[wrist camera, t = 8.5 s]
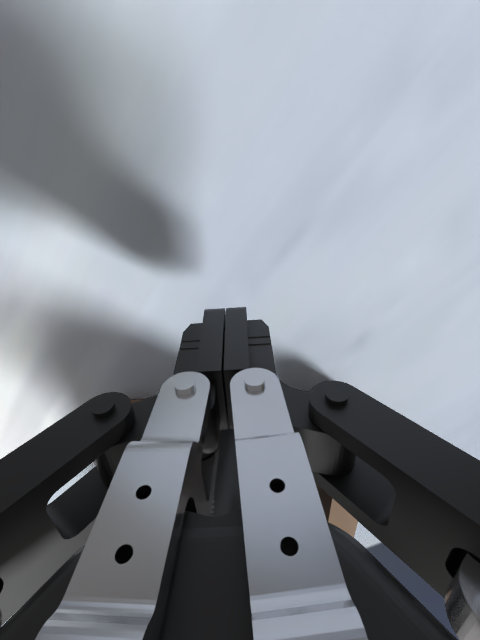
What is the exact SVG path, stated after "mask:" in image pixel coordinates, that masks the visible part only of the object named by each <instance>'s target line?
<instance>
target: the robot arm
mask: <svg viewBox="0 0 480 640" xmlns="http://www.w3.org/2000/svg"><path fill="white" fill-rule="evenodd" d="M179 349H180V351H179V353H178V357H177V361H176V365H175V370H174V374H173V376H171V377H170V378H168V379H167V380H166V381H165V382H164V383H163V385H162V386H161V389H160V391H159V394H158V395H156V396H153V397H151V398H148V399H145V400H141V401H138V402H134V403H131V401H130V399H129V397H128V396H126V395H125V394H122V393H118V392H110V393H105V394H101V395H98V396H96V397H94V398H92V399H91V400H89V401H87V402H86V403H84V404H83V405H81V406H80V407H78V408H77V409H75V410H74V411H72V412H71V413H69V414H68V415H66V416H65V417H63V418H62V419H60V420H59V421H57V422H56V423H54V424H53V425H51V426H50V427H48V428H47V429H45V430H44V431H42V432H41V433H39V434H38V435H36V436H35V437H33V438H32V439H30V440H29V441H27V442H26V443H24V444H23V445H21V446H20V447H18V448H17V449H15V450H14V451H12V452H11V453H9V454H8V455H6V456H5V457H3V458H2V459H0V640H457V639H456V638H455V637H454V636H453V635H452V634H451V633H450V632H449V631H448V630H447V629H446V628H445V627H444V626H443V625H442V624H441V623H440V622H439V621H438V620H437V619H436V618H435V617H434V616H433V615H432V614H431V613H430V612H429V611H428V610H427V609H426V608H425V607H424V606H423V605H422V604H421V603H420V602H419V601H418V600H417V599H416V598H415V597H414V596H413V595H412V594H411V593H410V592H409V591H408V590H407V589H406V588H405V587H404V586H403V585H402V584H401V583H400V582H399V581H398V580H397V579H396V578H395V577H394V576H393V575H392V574H391V573H390V572H389V571H388V570H387V569H386V568H385V567H384V566H383V565H382V564H381V563H380V562H379V561H378V560H377V559H376V558H375V557H374V556H373V555H372V554H371V553H370V552H369V551H368V550H367V549H366V548H365V547H364V546H363V545H362V544H360V543H359V542H358V541H357V540H356V539H355V538H353V537H352V536H351V535H349V534H348V533H347V532H345V531H344V530H342V529H340V528H339V527H337V526H335V525H333V524H331V523H329V522H327V520H326V517H325V514H324V510H323V507H322V504H321V500H320V497H319V494H318V491H317V487H316V484H317V485H318V486H319V487H320V488H321V489H323V490H324V491H325V492H326V493H327V494H328V495H329V496H330V497H332V498H333V499H334V500H335V501H336V502H337V503H338V504H339V505H341V506H342V507H343V508H344V509H345V510H346V511H347V512H348V513H350V514H351V515H352V516H353V517H354V518H355V519H356V520H357V521H358V522H360V523H361V524H362V525H363V526H364V527H365V528H366V529H367V530H369V531H370V532H371V533H372V534H373V535H374V536H375V537H376V538H378V539H379V540H380V541H381V542H382V543H383V544H384V545H386V546H387V547H388V548H389V549H390V550H391V551H392V552H393V553H394V554H396V555H397V556H398V557H399V558H400V559H401V560H402V561H403V562H404V563H406V564H407V565H408V566H409V567H410V568H411V569H412V570H413V571H415V572H416V573H417V574H418V575H419V576H420V577H421V578H423V579H424V580H425V581H426V582H427V583H428V584H429V585H430V586H431V587H432V588H434V589H435V590H436V591H437V592H438V593H439V594H440V595H442V596H443V597H444V598H445V607H446V613H447V616H448V619H449V622H450V624H451V626H452V628H453V630H454V632H455V633H456V635H457V636H458V638H459V639H460V640H480V461H479V460H478V459H476V458H474V457H473V456H471V455H469V454H467V453H466V452H464V451H462V450H461V449H459V448H457V447H455V446H454V445H452V444H450V443H449V442H447V441H445V440H444V439H442V438H440V437H438V436H437V435H435V434H433V433H432V432H430V431H428V430H426V429H425V428H423V427H421V426H420V425H418V424H416V423H415V422H413V421H411V420H409V419H408V418H406V417H404V416H403V415H401V414H399V413H397V412H396V411H394V410H392V409H391V408H389V407H387V406H386V405H384V404H382V403H380V402H379V401H377V400H375V399H374V398H372V397H370V396H369V395H367V394H365V393H363V392H362V391H360V390H358V389H357V388H355V387H353V386H351V385H349V384H347V383H344V382H340V381H325V382H321V383H319V384H317V385H315V386H314V387H313V388H312V389H311V391H310V392H307V391H302V390H297V389H294V388H291V387H289V386H287V385H285V384H284V383H282V382H281V381H280V380H279V378H278V377H277V375H276V371H275V364H274V358H273V352H272V346H271V339H270V333H269V327H268V326H267V325H266V324H265V323H264V322H263V321H262V320H247V314H246V307H238V308H226V312H225V308H223V309H206V310H205V311H204V317H203V323H197V324H190V325H189V327H188V328H187V329H186V330H185V331H184V332H183V336H182V340H181V344H180V348H179ZM228 415H229V424H230V429H234V434H235V446H236V456H237V467H238V478H239V488H240V499H241V509H240V510H236V511H233V512H230V513H227V514H224V515H221V516H217V517H211V510H212V502H213V494H214V487H215V479H216V472H217V464H218V457H219V446H218V445H219V440H220V430H222V429H228ZM93 461H94V462H95V465H96V467H94V468H93V469H92V470H91V471H89V472H88V473H87V474H86V475H85V476H83V477H82V478H81V479H80V480H78V481H77V482H76V483H75V484H74V485H72V486H71V487H70V488H69V489H67V490H66V491H65V492H64V493H63V494H61V495H60V496H59V497H58V498H56V499H55V500H54V501H53V502H51V503H50V504H48V505H47V503H48V501H49V499H50V498H51V497H52V495H53V494H54V493H55V492H56V491H57V490H59V489H60V488H61V487H62V486H64V485H65V484H66V483H67V482H69V481H70V480H71V479H72V478H74V477H75V476H76V475H77V474H79V473H80V472H81V471H82V470H84V469H85V468H86V467H87V466H88V465H90V464H91V463H92V462H93ZM315 483H316V484H315ZM27 600H28V601H27ZM26 601H27V602H26ZM25 602H26V603H25ZM24 603H25V604H24ZM23 604H24V605H23ZM22 605H23V606H22ZM21 606H22V607H21ZM20 607H21V608H20ZM19 608H20V609H19ZM18 609H19V610H18ZM17 610H18V611H17ZM16 611H17V612H16ZM15 612H16V613H15ZM14 613H15V614H14ZM13 614H14V615H13ZM12 615H13V616H12ZM11 616H12V617H11ZM10 617H11V618H10ZM9 618H10V619H9ZM8 619H9V620H8ZM7 620H8V621H7ZM6 621H7V622H6ZM5 622H6V623H5ZM4 623H5V624H4ZM3 624H4V625H3ZM2 625H3V626H2ZM1 626H2V627H1Z"/></svg>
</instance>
